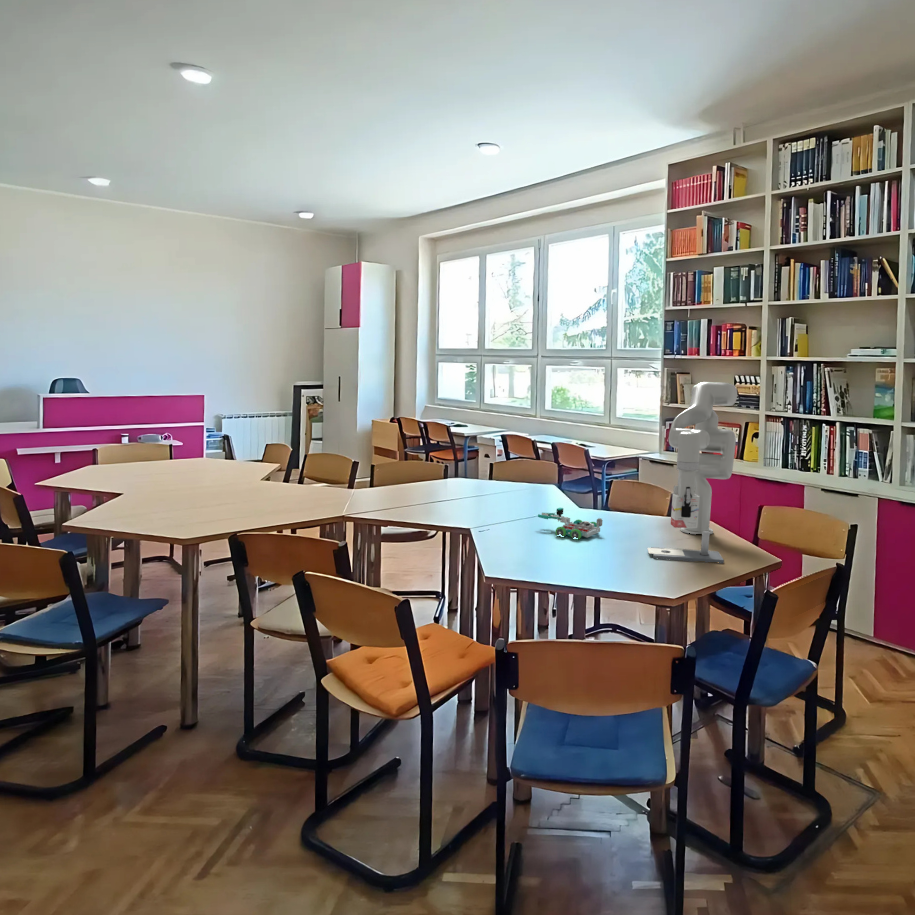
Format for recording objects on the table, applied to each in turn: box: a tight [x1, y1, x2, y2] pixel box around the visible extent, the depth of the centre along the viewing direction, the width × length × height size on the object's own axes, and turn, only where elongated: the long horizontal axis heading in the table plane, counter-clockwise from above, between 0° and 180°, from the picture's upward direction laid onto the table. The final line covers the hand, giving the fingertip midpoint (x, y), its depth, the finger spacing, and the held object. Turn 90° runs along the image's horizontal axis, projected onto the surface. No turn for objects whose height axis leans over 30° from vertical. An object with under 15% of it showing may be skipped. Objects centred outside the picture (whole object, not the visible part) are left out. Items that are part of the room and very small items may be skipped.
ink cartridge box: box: [670, 485, 699, 529], centre depth 272 cm, size 9×5×15 cm, turn 92°
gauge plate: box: [646, 531, 725, 564], centre depth 261 cm, size 12×24×9 cm, turn 80°
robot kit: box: [537, 507, 603, 540], centre depth 293 cm, size 19×25×9 cm
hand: (684, 514), depth 273 cm, fingers closed on ink cartridge box, 5 cm apart
